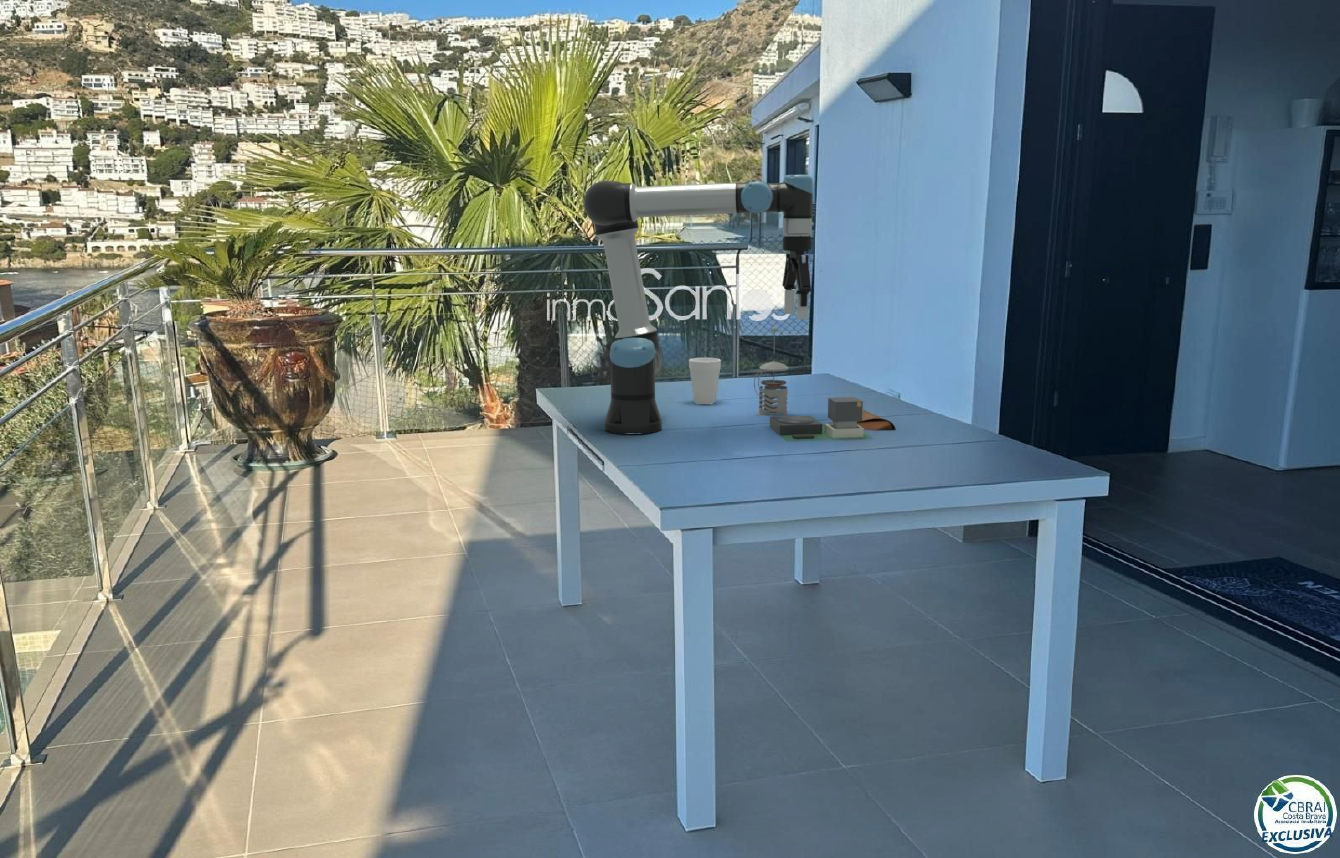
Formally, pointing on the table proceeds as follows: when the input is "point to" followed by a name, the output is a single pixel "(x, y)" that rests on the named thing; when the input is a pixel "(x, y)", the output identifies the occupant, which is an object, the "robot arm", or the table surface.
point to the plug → (845, 412)
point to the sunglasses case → (874, 422)
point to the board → (817, 436)
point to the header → (844, 432)
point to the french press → (772, 389)
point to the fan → (795, 425)
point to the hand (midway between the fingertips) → (795, 316)
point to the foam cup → (704, 379)
